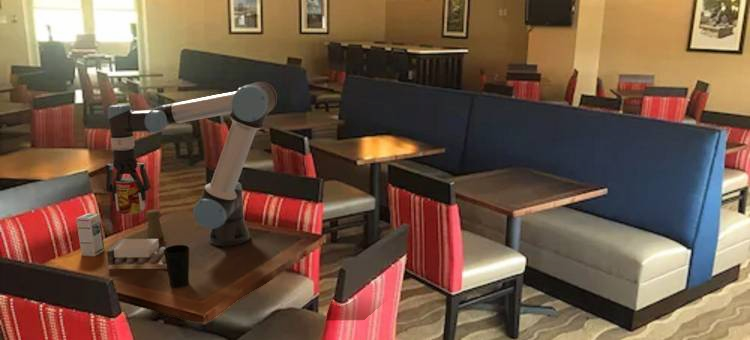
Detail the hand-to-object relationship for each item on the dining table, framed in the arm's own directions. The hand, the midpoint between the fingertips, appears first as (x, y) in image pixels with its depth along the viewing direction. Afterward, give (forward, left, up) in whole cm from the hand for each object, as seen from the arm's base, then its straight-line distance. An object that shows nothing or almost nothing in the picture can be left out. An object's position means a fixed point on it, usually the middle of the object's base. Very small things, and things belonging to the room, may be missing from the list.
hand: (131, 209), depth 224 cm
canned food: (0, 0, -1) cm, 1 cm away
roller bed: (-9, +12, -16) cm, 22 cm away
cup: (-26, +31, -16) cm, 43 cm away
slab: (-5, +12, -12) cm, 18 cm away
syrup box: (+14, +3, -16) cm, 22 cm away
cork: (-3, -14, -16) cm, 21 cm away
